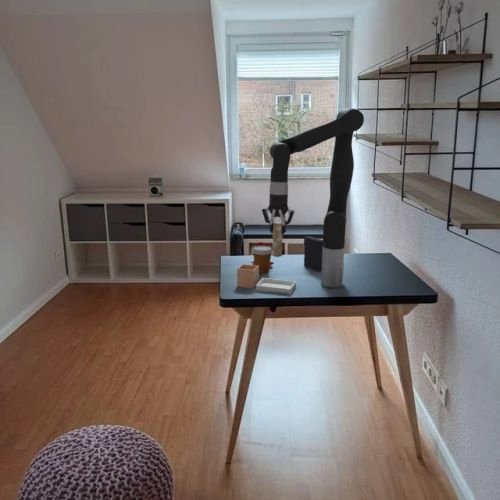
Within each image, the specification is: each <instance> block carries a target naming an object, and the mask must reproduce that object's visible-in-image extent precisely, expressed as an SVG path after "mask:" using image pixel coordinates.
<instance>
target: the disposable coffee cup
mask: <svg viewBox="0 0 500 500" xmlns="http://www.w3.org/2000/svg"><path fill="white" fill-rule="evenodd" d="M254 246H255V245H254ZM254 246H253V247H252V251H251V252H252V255H253V261H254V265H257V266H259V275H267V274H269V271H270V269H269V266H270V262H271V257H272V251H273V248H272V247H269V246H255V247H254ZM271 248H272V249H271Z"/></svg>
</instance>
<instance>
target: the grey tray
mask: <svg viewBox="0 0 500 500" xmlns="http://www.w3.org/2000/svg"><path fill="white" fill-rule="evenodd" d="M296 287H297V281H296V280H289V279H288V280H287V279H279V278H270V277H268V278H267V277H262V278H261V279H259V282H258V284H257V285H256V286H255V291H256V292H263V293H271V294H278V295H279V294H280V295H288V296H290V295H291V294H292V293H293V291H294V290H295V288H296Z"/></svg>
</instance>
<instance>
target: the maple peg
mask: <svg viewBox="0 0 500 500" xmlns="http://www.w3.org/2000/svg"><path fill="white" fill-rule="evenodd" d="M282 256H283V234H282V221H279V222H278V221H274V223H273V233H272V253H271V257H274V258H280V257H282Z"/></svg>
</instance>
